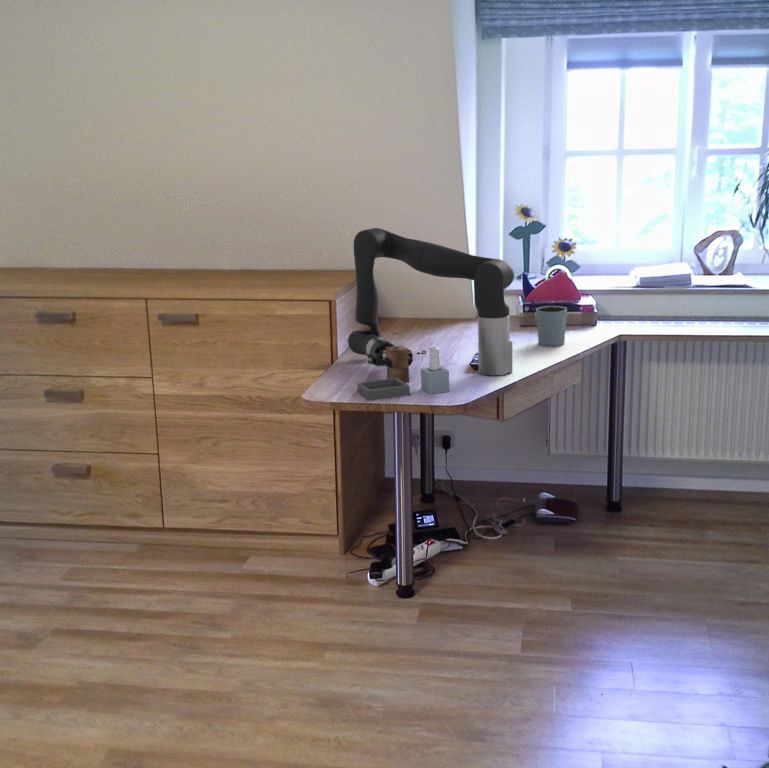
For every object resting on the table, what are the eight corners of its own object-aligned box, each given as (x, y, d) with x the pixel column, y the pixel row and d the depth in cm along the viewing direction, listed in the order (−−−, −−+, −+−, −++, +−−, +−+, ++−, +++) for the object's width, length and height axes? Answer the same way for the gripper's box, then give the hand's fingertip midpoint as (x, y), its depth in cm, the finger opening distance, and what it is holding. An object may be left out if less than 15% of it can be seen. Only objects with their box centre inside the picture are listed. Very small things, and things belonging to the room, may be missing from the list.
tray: (397, 386, 264) (397, 377, 264) (409, 394, 255) (409, 385, 255) (357, 391, 261) (357, 382, 260) (368, 400, 252) (368, 391, 251)
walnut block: (403, 378, 273) (401, 345, 270) (409, 382, 268) (407, 348, 265) (387, 380, 271) (385, 346, 268) (392, 384, 266) (391, 350, 264)
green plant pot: (566, 340, 312) (567, 305, 308) (566, 347, 302) (567, 311, 299) (536, 340, 313) (536, 306, 310) (535, 347, 304) (535, 311, 301)
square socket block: (441, 386, 262) (440, 365, 261) (449, 391, 257) (448, 370, 255) (421, 388, 260) (420, 368, 259) (429, 394, 255) (428, 373, 253)
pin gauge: (437, 388, 260) (436, 347, 257) (441, 390, 258) (440, 348, 255) (429, 389, 259) (428, 348, 256) (432, 391, 257) (431, 349, 254)
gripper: (358, 341, 278) (376, 353, 262) (403, 336, 282) (423, 347, 267) (359, 366, 280) (377, 378, 264) (403, 360, 284) (424, 372, 269)
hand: (400, 363), depth 266 cm, fingers closed on walnut block, 5 cm apart
